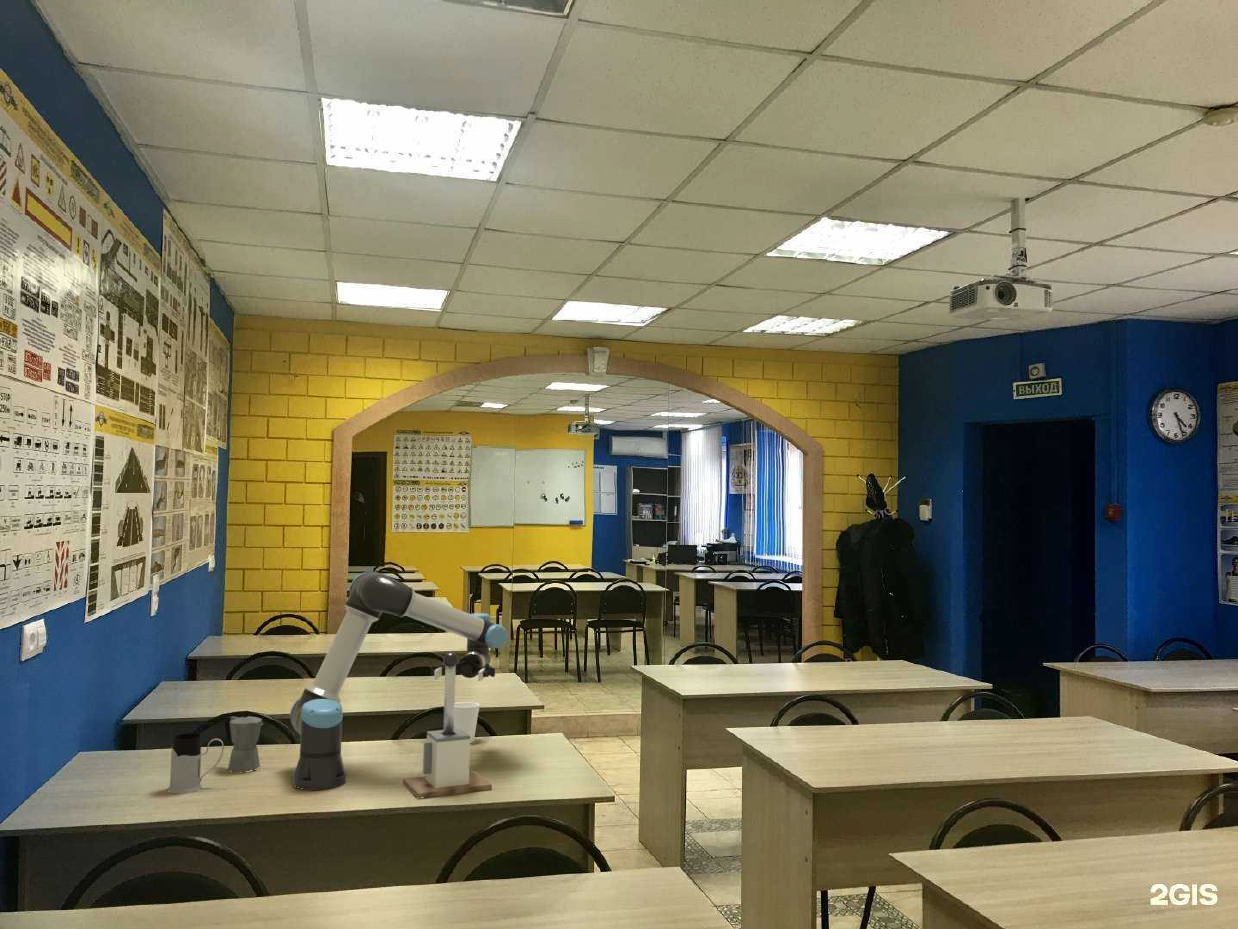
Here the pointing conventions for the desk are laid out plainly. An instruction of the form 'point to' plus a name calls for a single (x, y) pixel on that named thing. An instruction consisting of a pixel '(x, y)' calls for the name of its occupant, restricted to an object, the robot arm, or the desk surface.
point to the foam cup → (466, 717)
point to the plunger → (449, 692)
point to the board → (425, 789)
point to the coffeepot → (243, 742)
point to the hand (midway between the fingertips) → (457, 675)
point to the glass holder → (187, 763)
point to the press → (447, 758)
